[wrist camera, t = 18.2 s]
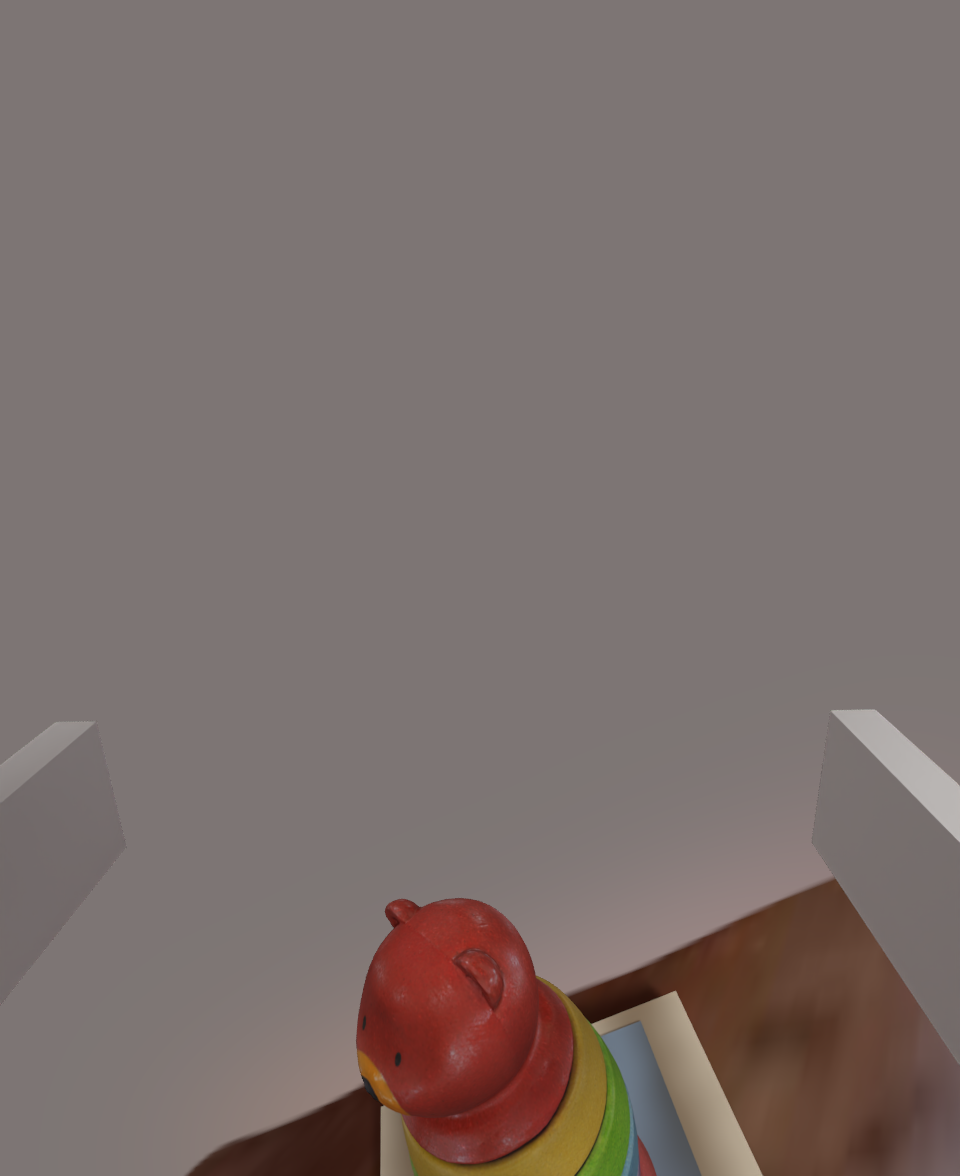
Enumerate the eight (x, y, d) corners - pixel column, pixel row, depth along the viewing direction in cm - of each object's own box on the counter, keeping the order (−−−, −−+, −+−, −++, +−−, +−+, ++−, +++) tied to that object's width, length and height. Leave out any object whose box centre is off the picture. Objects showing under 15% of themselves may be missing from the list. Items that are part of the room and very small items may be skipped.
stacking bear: (412, 1213, 32) (249, 958, 26) (558, 1049, 37) (449, 802, 31) (560, 1481, 23) (365, 1187, 17) (727, 1221, 28) (620, 921, 22)
